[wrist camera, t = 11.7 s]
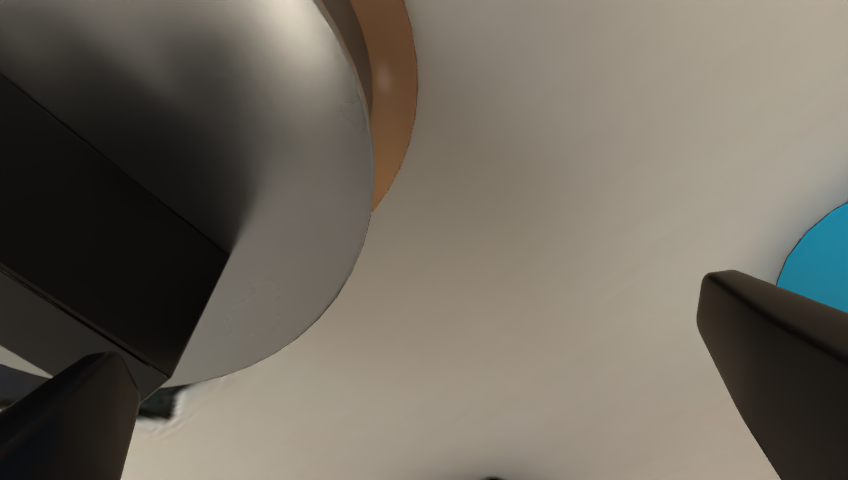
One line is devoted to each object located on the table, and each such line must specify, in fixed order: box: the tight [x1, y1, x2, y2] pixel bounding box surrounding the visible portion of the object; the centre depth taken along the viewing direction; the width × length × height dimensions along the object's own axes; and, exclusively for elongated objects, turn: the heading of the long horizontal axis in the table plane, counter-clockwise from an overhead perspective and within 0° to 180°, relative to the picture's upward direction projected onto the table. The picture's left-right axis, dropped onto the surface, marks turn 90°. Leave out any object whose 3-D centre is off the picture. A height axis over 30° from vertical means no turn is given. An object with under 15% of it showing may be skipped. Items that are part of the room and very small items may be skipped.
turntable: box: [350, 0, 418, 212], centre depth 18 cm, size 15×15×1 cm
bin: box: [0, 0, 375, 404], centre depth 13 cm, size 12×12×11 cm
